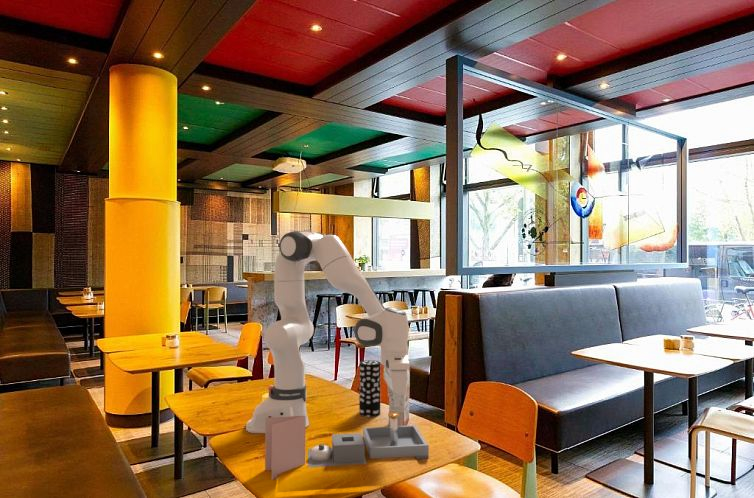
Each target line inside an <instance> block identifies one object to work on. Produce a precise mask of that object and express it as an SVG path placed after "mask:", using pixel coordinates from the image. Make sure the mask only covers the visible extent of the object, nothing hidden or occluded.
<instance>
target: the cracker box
mask: <svg viewBox="0 0 754 498" xmlns="http://www.w3.org/2000/svg"><path fill="white" fill-rule="evenodd" d="M410 373H411V365H410V364H409V370H407V385H406V392H405V395H401V398H400V406H399V407H394V405H393V400H394V397H393V398H389V397H388V398H389V399H388V413H391V412H396V413H399V417H397V426H408V423H409V420H410V388H411V387H410V380H411V379H410V378H411V377H410V376H411V375H410ZM388 426H390V417H388Z"/></svg>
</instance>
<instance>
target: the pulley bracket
mask: <svg viewBox="0 0 754 498" xmlns="http://www.w3.org/2000/svg"><path fill="white" fill-rule="evenodd" d="M331 441H332V442H331V446H329V445H326V444H323V443H320V444H318V445H315V446H313V447H312V448H311V449H307V468H319V467H320V468H321V467H337V466H339V467H340V466H353V465H354V466H355V465H367V460H366V457H365V441H364V438H363V434H362V433H361V432H355V433H353V432H351V433H336V434H333V433H332V435H331Z"/></svg>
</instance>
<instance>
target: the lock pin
mask: <svg viewBox="0 0 754 498" xmlns="http://www.w3.org/2000/svg"><path fill="white" fill-rule="evenodd" d="M387 416H388V418H389V417H390V446H398V430H397V417H399V413H396V412H391V413H389V412H388V414H387Z"/></svg>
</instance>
